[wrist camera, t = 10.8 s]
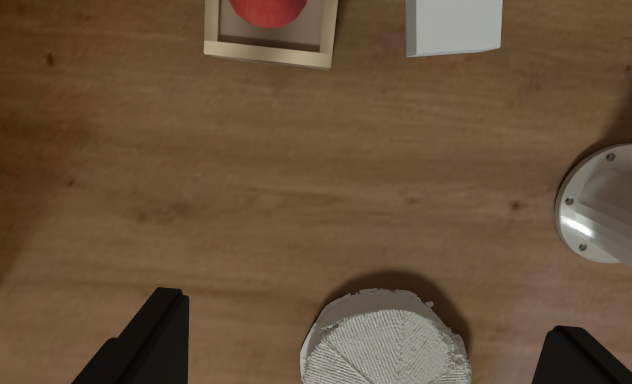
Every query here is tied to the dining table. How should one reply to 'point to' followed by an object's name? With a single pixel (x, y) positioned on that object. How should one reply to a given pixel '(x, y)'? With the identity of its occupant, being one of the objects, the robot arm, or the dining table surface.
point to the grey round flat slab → (382, 343)
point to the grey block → (452, 26)
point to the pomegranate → (268, 11)
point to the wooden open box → (272, 36)
